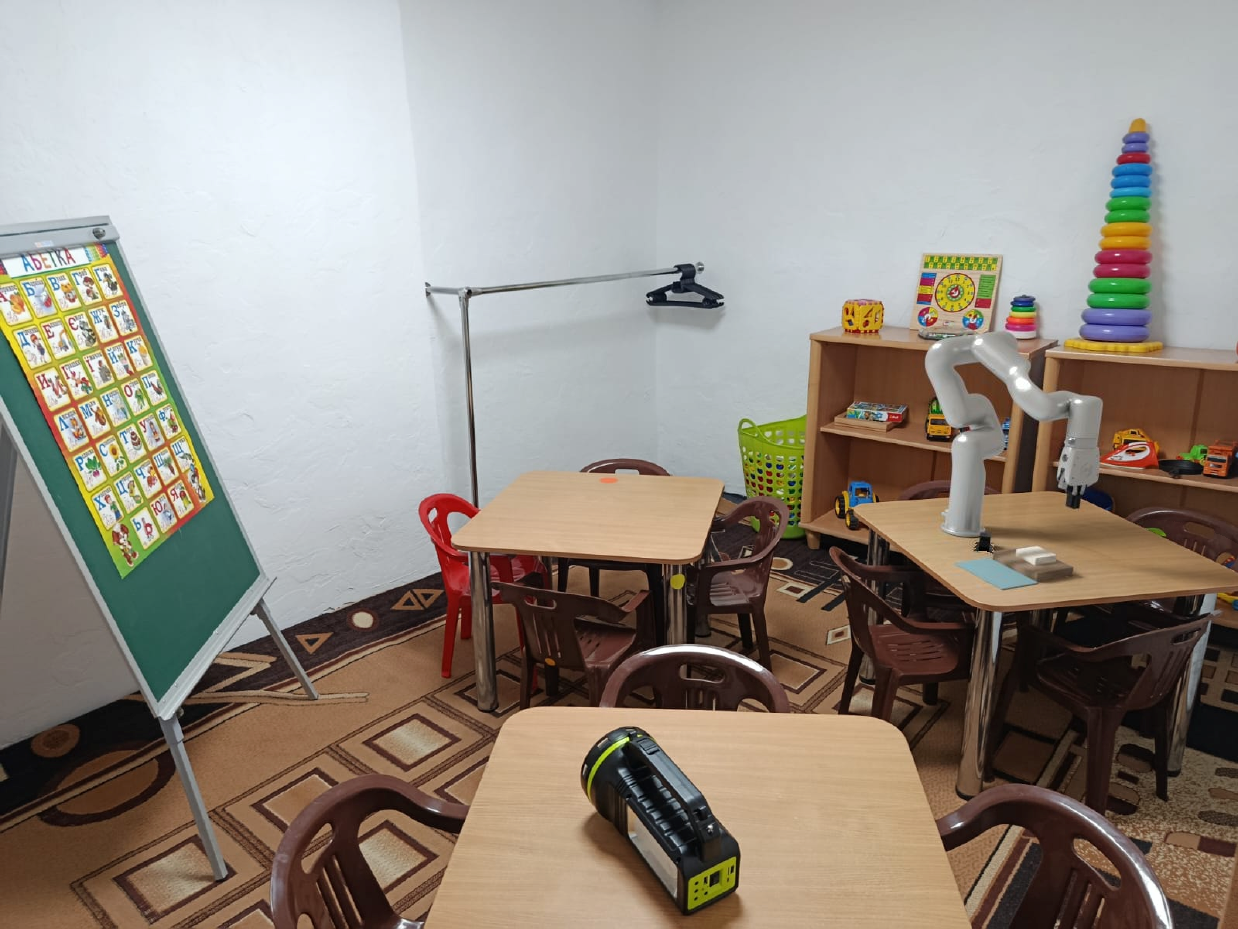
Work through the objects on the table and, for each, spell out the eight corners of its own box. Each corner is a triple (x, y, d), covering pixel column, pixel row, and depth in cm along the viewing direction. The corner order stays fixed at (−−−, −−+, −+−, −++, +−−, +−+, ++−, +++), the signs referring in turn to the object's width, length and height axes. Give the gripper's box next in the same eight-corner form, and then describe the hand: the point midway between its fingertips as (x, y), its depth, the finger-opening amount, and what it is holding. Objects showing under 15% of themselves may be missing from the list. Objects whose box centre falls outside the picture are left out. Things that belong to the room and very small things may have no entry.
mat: (954, 564, 231) (955, 563, 230) (989, 558, 234) (989, 557, 234) (1001, 589, 214) (1002, 588, 214) (1038, 583, 217) (1038, 582, 217)
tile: (1015, 555, 229) (1016, 549, 229) (1036, 552, 231) (1036, 545, 231) (1034, 565, 223) (1035, 558, 222) (1055, 561, 225) (1056, 555, 224)
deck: (992, 559, 233) (993, 551, 232) (1027, 554, 237) (1028, 546, 236) (1036, 582, 218) (1037, 573, 218) (1072, 575, 222) (1073, 567, 221)
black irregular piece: (971, 540, 249) (973, 526, 248) (998, 543, 246) (999, 529, 245) (970, 554, 238) (971, 540, 237) (997, 558, 235) (999, 543, 234)
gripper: (1070, 448, 215) (1061, 514, 220) (1115, 442, 220) (1105, 508, 225) (1047, 441, 222) (1039, 506, 227) (1091, 436, 227) (1082, 500, 231)
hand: (1072, 507), depth 226 cm, fingers closed
